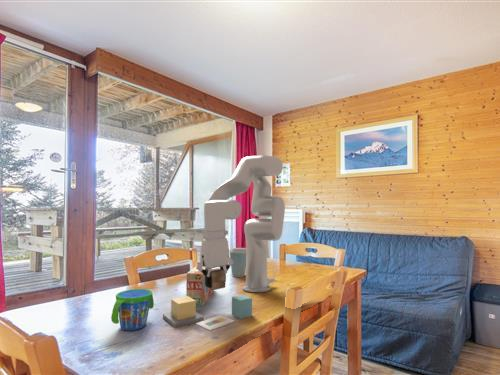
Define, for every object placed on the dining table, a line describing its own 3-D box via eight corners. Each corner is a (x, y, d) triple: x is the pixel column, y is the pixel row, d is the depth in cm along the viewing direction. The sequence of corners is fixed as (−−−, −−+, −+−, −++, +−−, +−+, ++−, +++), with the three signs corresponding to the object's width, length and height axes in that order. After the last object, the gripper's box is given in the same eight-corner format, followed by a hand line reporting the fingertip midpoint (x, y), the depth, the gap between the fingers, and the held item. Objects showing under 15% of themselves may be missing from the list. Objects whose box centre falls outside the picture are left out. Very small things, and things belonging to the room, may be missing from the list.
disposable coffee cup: (226, 274, 166) (227, 246, 167) (245, 273, 169) (245, 246, 170) (231, 278, 156) (231, 249, 156) (251, 277, 159) (251, 248, 160)
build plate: (190, 311, 107) (190, 293, 107) (203, 320, 99) (204, 301, 99) (162, 317, 101) (163, 298, 101) (174, 327, 93) (175, 306, 93)
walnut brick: (218, 284, 113) (218, 268, 113) (225, 287, 109) (225, 270, 109) (206, 286, 110) (206, 270, 110) (213, 290, 106) (212, 273, 106)
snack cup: (141, 315, 103) (142, 285, 103) (164, 321, 98) (165, 289, 98) (99, 332, 89) (100, 297, 90) (123, 340, 84) (124, 302, 85)
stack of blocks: (200, 290, 135) (200, 262, 135) (214, 290, 134) (214, 262, 135) (185, 305, 113) (186, 272, 114) (202, 306, 113) (202, 273, 114)
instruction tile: (220, 316, 103) (220, 314, 103) (234, 321, 98) (234, 320, 98) (195, 324, 95) (195, 322, 95) (209, 330, 91) (209, 329, 91)
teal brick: (243, 311, 107) (243, 294, 108) (251, 315, 103) (252, 297, 104) (231, 314, 104) (231, 296, 105) (239, 318, 100) (240, 300, 101)
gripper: (229, 232, 118) (230, 279, 117) (188, 236, 107) (189, 287, 107) (240, 233, 111) (241, 283, 111) (198, 238, 101) (199, 293, 101)
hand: (215, 285), depth 109 cm, fingers closed on walnut brick, 5 cm apart
